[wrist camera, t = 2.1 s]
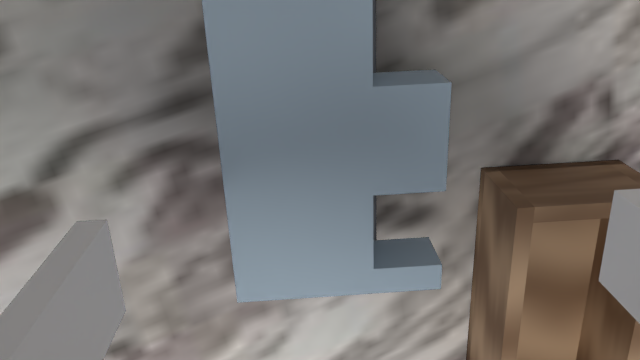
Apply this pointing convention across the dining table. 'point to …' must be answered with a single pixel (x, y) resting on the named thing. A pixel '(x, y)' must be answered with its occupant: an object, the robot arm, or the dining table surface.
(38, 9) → the dining table surface
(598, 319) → the carcass
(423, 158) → the door
